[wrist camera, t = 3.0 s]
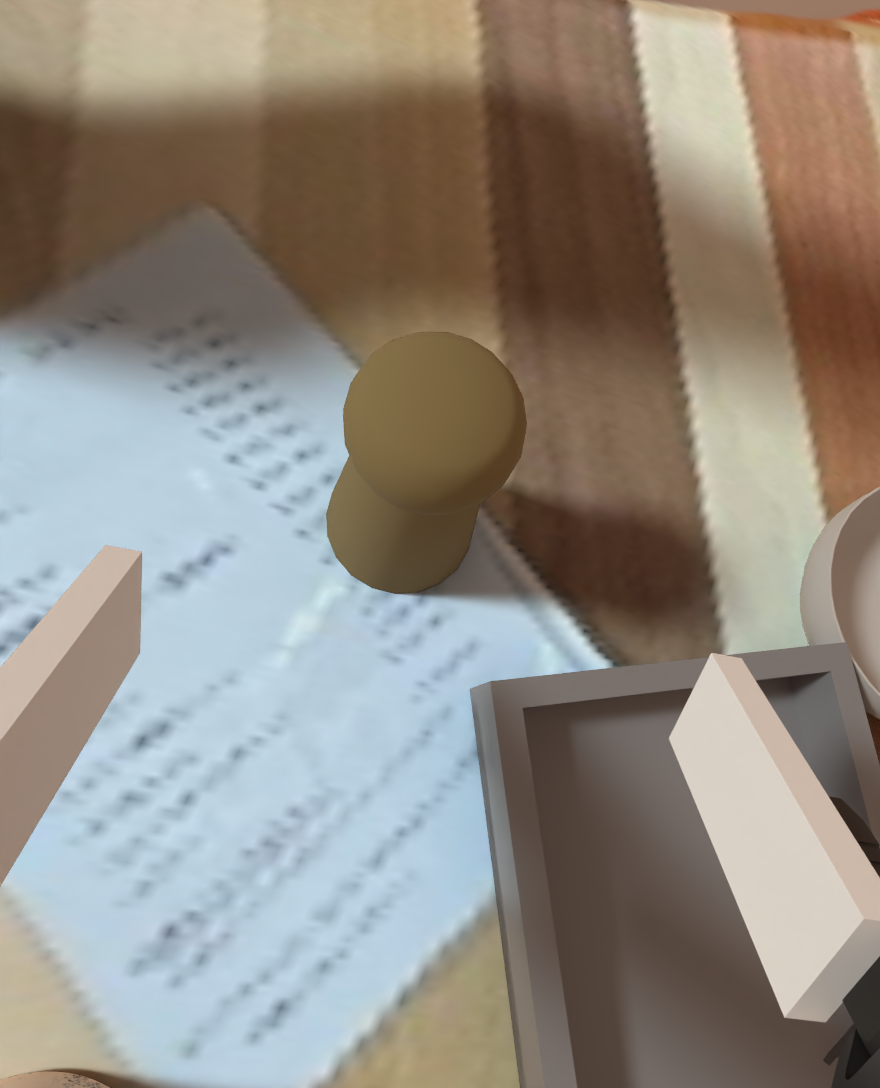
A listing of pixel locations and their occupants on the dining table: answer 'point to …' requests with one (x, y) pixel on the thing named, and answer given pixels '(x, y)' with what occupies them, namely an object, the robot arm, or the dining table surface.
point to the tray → (647, 876)
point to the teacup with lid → (50, 1081)
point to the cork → (422, 458)
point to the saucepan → (848, 591)
